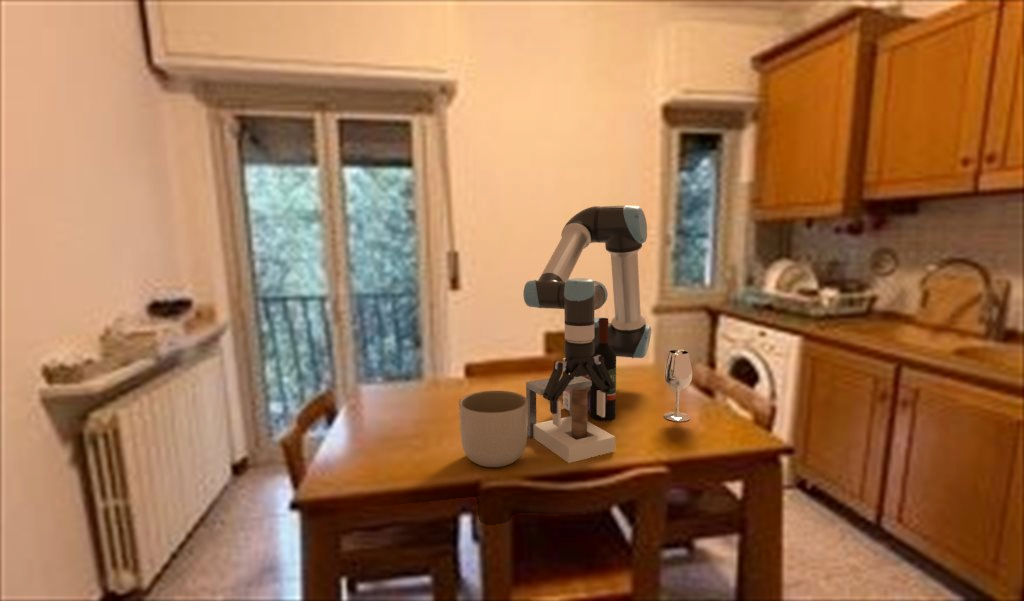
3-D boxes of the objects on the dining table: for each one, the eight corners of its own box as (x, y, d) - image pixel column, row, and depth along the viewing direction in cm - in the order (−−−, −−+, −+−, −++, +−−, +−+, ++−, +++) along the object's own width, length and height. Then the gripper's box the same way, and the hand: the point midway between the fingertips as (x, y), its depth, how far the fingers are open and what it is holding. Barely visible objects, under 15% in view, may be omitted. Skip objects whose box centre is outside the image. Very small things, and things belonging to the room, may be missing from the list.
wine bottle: (600, 410, 175) (600, 315, 170) (620, 416, 169) (621, 318, 165) (584, 417, 170) (585, 319, 165) (605, 423, 164) (606, 322, 160)
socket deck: (576, 428, 161) (576, 415, 160) (615, 451, 145) (615, 436, 144) (533, 437, 154) (533, 424, 154) (568, 463, 139) (568, 447, 138)
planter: (532, 472, 134) (531, 411, 132) (460, 476, 133) (458, 414, 130) (524, 443, 151) (524, 389, 148) (460, 446, 149) (459, 391, 147)
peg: (581, 444, 150) (581, 386, 147) (589, 450, 146) (590, 390, 144) (568, 447, 148) (568, 388, 145) (576, 453, 144) (577, 392, 142)
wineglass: (658, 417, 168) (660, 352, 165) (671, 410, 174) (672, 347, 171) (683, 424, 163) (685, 356, 160) (695, 416, 168) (697, 351, 165)
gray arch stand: (575, 425, 163) (575, 373, 160) (591, 435, 156) (591, 380, 153) (526, 436, 156) (526, 381, 153) (541, 446, 149) (540, 389, 146)
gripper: (610, 331, 151) (609, 407, 155) (528, 342, 140) (529, 424, 144) (628, 337, 145) (627, 416, 148) (544, 348, 134) (544, 434, 137)
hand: (579, 420), depth 146 cm, fingers open, 13 cm apart
